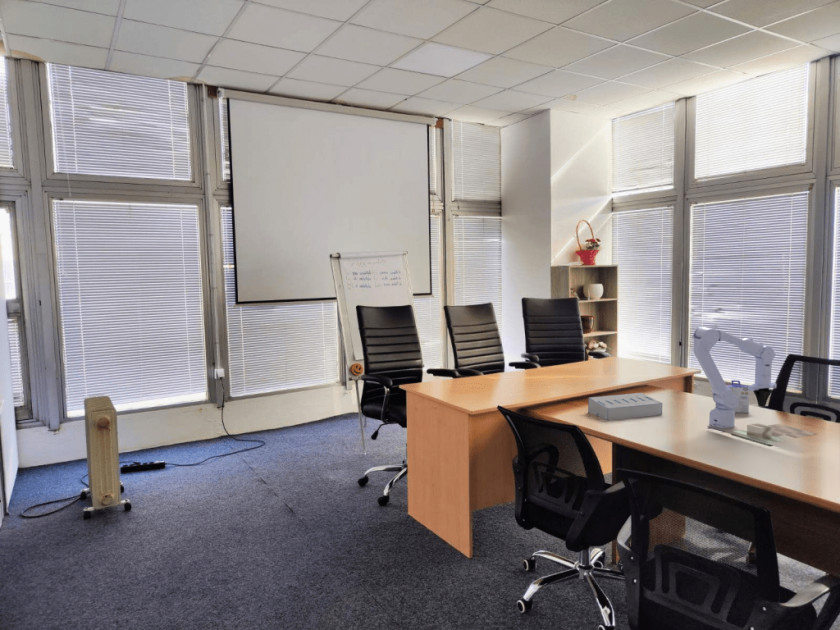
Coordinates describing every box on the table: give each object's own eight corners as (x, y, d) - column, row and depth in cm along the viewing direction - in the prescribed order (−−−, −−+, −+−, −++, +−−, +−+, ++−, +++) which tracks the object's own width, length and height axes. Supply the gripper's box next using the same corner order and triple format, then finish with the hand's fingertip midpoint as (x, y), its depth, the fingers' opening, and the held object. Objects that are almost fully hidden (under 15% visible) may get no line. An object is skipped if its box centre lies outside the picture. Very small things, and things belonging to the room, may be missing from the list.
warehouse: (607, 421, 249) (607, 404, 248) (588, 413, 262) (588, 397, 262) (662, 415, 258) (662, 399, 258) (640, 408, 272) (640, 392, 271)
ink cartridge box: (745, 410, 264) (746, 380, 263) (749, 413, 259) (750, 382, 258) (722, 409, 266) (723, 379, 265) (726, 412, 261) (727, 381, 260)
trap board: (769, 446, 210) (769, 442, 210) (731, 435, 225) (731, 431, 225) (817, 437, 221) (817, 433, 221) (778, 427, 236) (778, 423, 236)
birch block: (761, 438, 215) (761, 428, 215) (746, 434, 220) (747, 424, 220) (771, 436, 217) (772, 426, 217) (757, 432, 223) (757, 422, 222)
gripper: (760, 377, 226) (758, 410, 227) (784, 374, 232) (782, 406, 233) (744, 374, 233) (742, 406, 234) (767, 371, 238) (766, 402, 239)
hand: (761, 406), depth 234 cm, fingers closed
